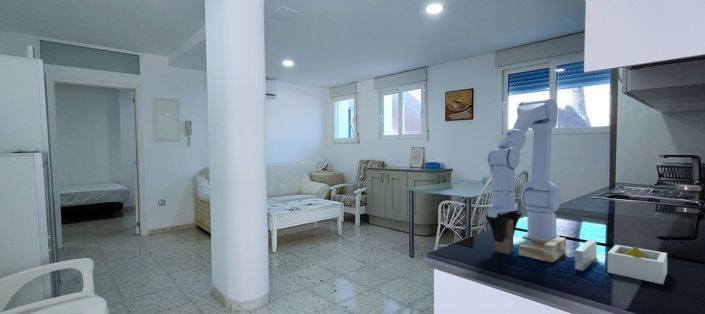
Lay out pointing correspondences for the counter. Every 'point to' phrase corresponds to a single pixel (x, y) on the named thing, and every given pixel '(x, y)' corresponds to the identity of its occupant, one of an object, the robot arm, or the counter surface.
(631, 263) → the holder
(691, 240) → the counter surface
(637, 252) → the yellow tapered piece
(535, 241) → the cradle
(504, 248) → the peg
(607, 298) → the counter surface
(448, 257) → the counter surface
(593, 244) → the rail
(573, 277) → the counter surface
